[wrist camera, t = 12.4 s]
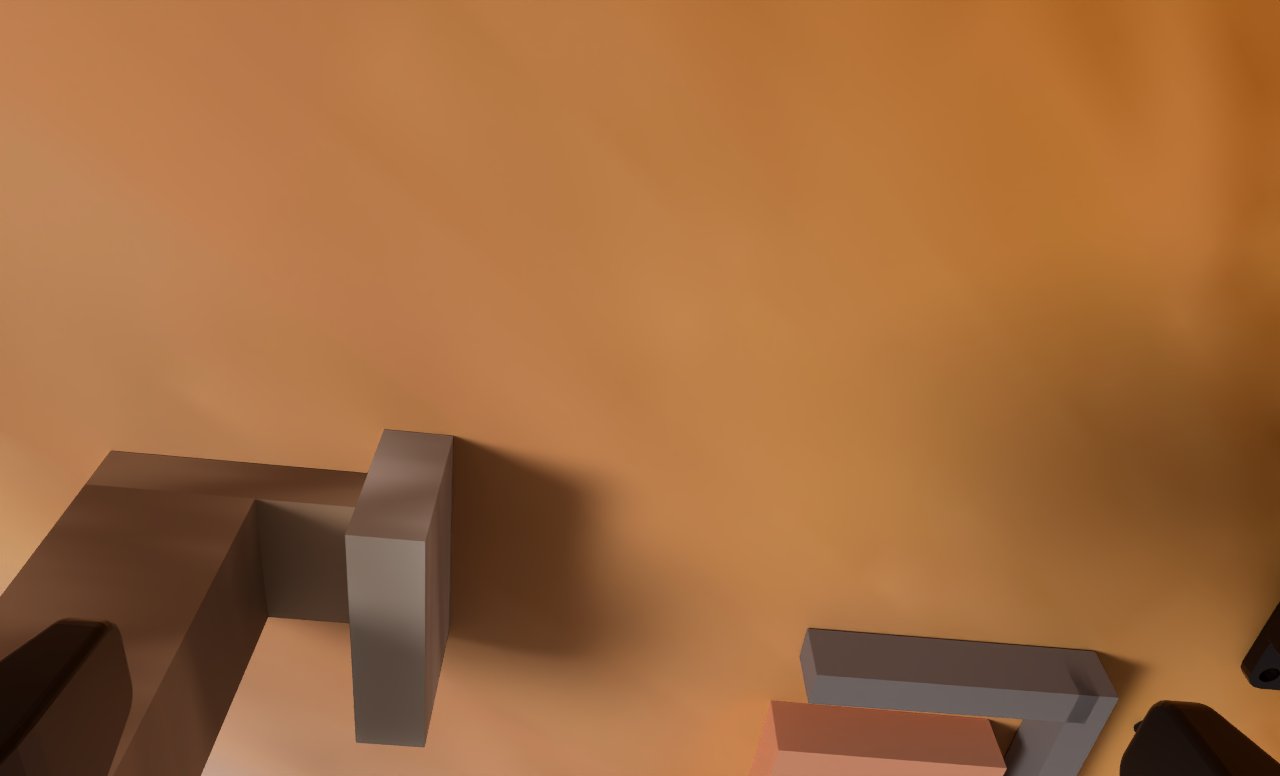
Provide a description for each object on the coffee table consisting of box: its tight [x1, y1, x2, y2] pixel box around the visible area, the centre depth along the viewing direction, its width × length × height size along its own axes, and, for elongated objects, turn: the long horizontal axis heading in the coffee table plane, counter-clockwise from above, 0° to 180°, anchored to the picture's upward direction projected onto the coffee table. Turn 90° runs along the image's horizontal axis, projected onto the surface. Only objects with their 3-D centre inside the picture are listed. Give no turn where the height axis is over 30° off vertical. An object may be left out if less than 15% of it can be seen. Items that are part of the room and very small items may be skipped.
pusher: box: [0, 430, 453, 776], centre depth 19 cm, size 8×6×9 cm
